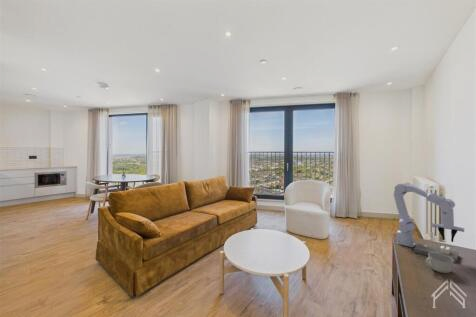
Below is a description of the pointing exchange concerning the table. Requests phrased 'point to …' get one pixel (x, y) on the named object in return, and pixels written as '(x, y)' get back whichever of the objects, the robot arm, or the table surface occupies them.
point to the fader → (445, 250)
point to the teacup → (440, 262)
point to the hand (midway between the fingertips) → (447, 240)
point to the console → (427, 249)
